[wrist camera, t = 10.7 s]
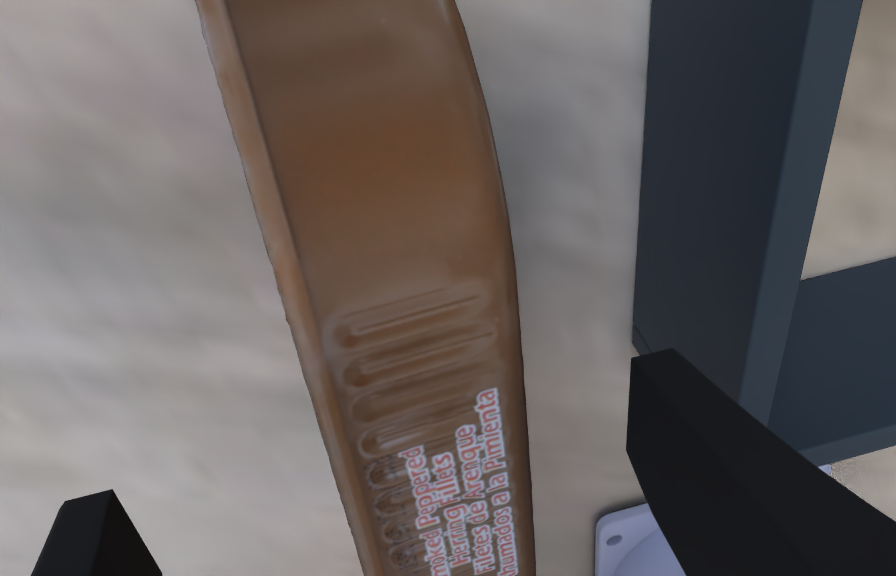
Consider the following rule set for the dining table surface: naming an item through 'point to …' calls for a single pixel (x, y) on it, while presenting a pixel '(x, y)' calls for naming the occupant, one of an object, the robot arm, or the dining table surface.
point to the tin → (389, 267)
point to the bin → (759, 223)
